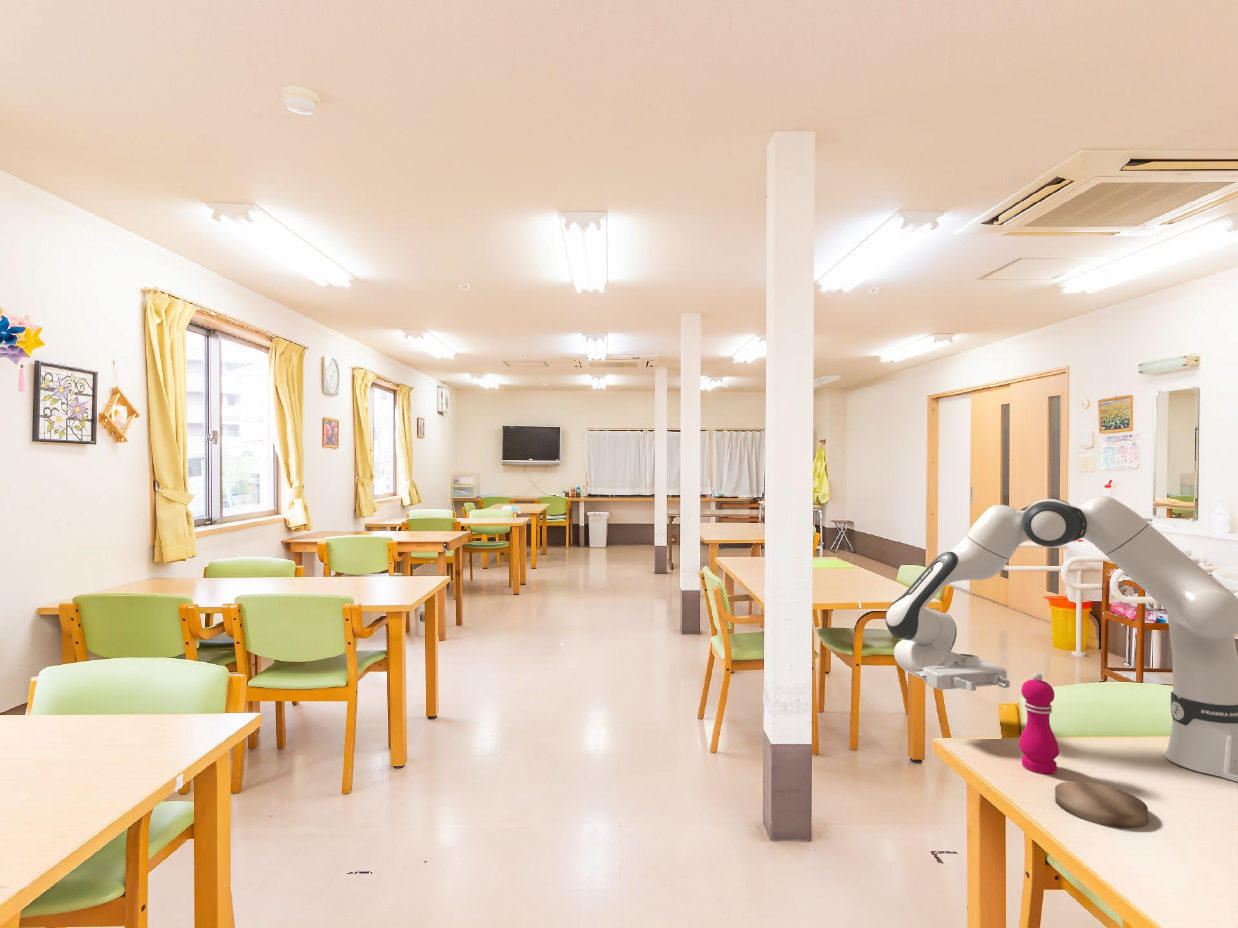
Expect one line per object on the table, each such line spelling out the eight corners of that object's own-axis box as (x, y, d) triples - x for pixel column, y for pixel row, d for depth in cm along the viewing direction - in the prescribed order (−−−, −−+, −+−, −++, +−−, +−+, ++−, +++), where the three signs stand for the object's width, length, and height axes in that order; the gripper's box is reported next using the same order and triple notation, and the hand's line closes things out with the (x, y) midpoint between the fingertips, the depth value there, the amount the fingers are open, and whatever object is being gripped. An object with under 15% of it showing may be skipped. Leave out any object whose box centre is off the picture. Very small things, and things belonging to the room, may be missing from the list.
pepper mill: (1025, 758, 149) (1023, 666, 149) (1063, 768, 143) (1061, 672, 144) (1015, 767, 143) (1013, 672, 144) (1054, 778, 138) (1052, 679, 139)
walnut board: (1117, 793, 132) (1117, 783, 132) (1167, 829, 118) (1167, 818, 118) (1040, 789, 133) (1040, 779, 133) (1081, 825, 119) (1081, 813, 119)
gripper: (911, 658, 166) (953, 674, 153) (979, 654, 172) (1025, 669, 158) (911, 684, 166) (953, 702, 153) (979, 679, 172) (1025, 696, 158)
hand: (990, 685), depth 156 cm, fingers open, 8 cm apart
